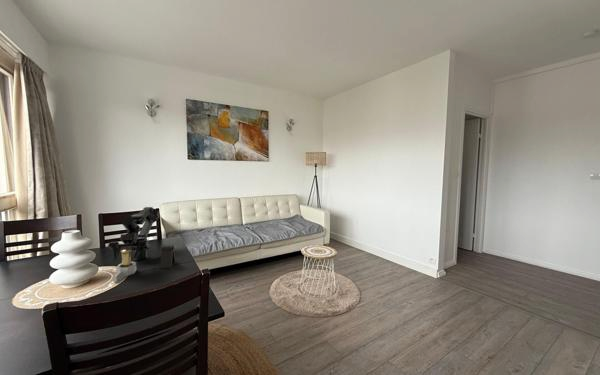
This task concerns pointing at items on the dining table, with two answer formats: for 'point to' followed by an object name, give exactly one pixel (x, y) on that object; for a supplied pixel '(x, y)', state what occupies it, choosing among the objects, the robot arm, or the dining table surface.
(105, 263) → the dining table surface
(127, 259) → the yellow tall cylinder
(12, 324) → the dining table surface
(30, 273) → the dining table surface
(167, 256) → the door stopper
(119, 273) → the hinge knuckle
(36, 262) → the dining table surface
